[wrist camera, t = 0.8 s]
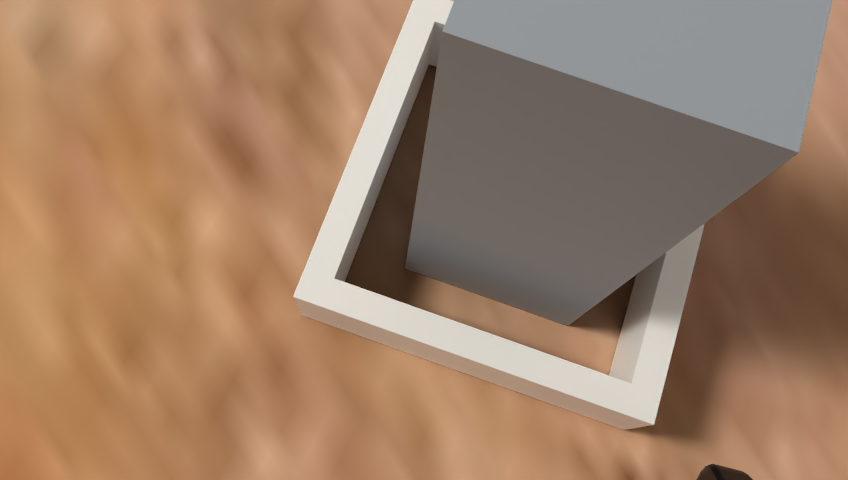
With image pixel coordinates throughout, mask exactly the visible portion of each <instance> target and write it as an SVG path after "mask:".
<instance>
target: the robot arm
mask: <svg viewBox="0 0 848 480" xmlns="http://www.w3.org/2000/svg"><path fill="white" fill-rule="evenodd" d="M697 480H753V479H752V478H751V477H750V476H749V475H747V474H746V473H744V472H742V471H739V470H735V469H731V468H727V467H723V466H719V465H715V464H711V465H708V466H705V468H704V469H703V470H702V471H701V472H700V474H699V476H698V478H697Z"/></svg>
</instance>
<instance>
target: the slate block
mask: <svg viewBox="0 0 848 480" xmlns="http://www.w3.org/2000/svg"><path fill="white" fill-rule="evenodd" d="M831 4H832V0H454V3H453V5H452V8H451V10H450V13H449V16H448V18H447V21H446V23H445V26H444V29H443V31H442V37H441V43H440V50H439V56H438V63H437V69H436V75H435V82H434V88H433V94H432V101H431V107H430V113H429V120H428V126H427V132H426V139H425V145H424V151H423V158H422V164H421V170H420V177H419V183H418V189H417V196H416V202H415V209H414V215H413V221H412V228H411V234H410V240H409V247H408V253H407V259H406V266H405V269H408V270H410V271H413V272H416V273H419V274H422V275H425V276H427V277H430V278H433V279H436V280H439V281H442V282H445V283H447V284H450V285H453V286H456V287H459V288H462V289H464V290H467V291H470V292H473V293H476V294H479V295H481V296H484V297H487V298H490V299H493V300H496V301H498V302H501V303H504V304H507V305H510V306H513V307H516V308H518V309H521V310H524V311H527V312H530V313H533V314H535V315H538V316H541V317H544V318H547V319H550V320H552V321H555V322H558V323H561V324H564V325H567V326H569V325H570V324H571V323H573V322H574V321H575V320H577V319H578V318H579V317H581V316H582V315H583V314H585V313H586V312H587V311H589V310H590V309H591V308H593V307H594V306H595V305H597V304H598V303H599V302H601V301H602V300H603V299H605V298H606V297H607V296H609V295H610V294H611V293H612V292H614V291H615V290H616V289H618V288H619V287H620V286H622V285H623V284H624V283H626V282H627V281H628V280H630V279H631V278H632V277H634V276H635V275H636V274H638V273H639V272H640V271H642V270H643V269H644V268H646V267H647V266H648V265H650V264H651V263H652V262H654V261H655V260H656V259H658V258H659V257H660V256H662V255H663V254H664V253H666V252H667V251H668V250H670V249H671V248H672V247H674V246H675V245H676V244H678V243H679V242H680V241H682V240H683V239H684V238H686V237H687V236H688V235H690V234H691V233H692V232H694V231H695V230H696V229H698V228H699V227H700V226H702V225H703V224H704V223H706V222H707V221H708V220H710V219H711V218H712V217H714V216H715V215H716V214H718V213H719V212H720V211H722V210H723V209H724V208H726V207H727V206H728V205H730V204H731V203H732V202H734V201H735V200H736V199H738V198H739V197H740V196H742V195H743V194H744V193H746V192H747V191H748V190H750V189H751V188H752V187H754V186H755V185H756V184H758V183H759V182H760V181H762V180H763V179H764V178H766V177H767V176H768V175H770V174H771V173H772V172H773V171H775V170H776V169H777V168H779V167H780V166H781V165H783V164H784V163H785V162H787V161H788V160H789V159H791V158H792V157H793V156H795V155H796V154H797V153H799V149H800V144H801V140H802V135H803V131H804V126H805V122H806V117H807V113H808V108H809V104H810V99H811V95H812V90H813V86H814V81H815V77H816V72H817V68H818V63H819V59H820V54H821V50H822V45H823V40H824V36H825V31H826V27H827V22H828V18H829V13H830V9H831Z"/></svg>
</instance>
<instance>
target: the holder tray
mask: <svg viewBox="0 0 848 480" xmlns="http://www.w3.org/2000/svg"><path fill="white" fill-rule="evenodd" d="M453 3H454V2H453V1H450V0H413V2H412V5H411V7H410V10H409V12H408V15H407V17H406V20H405V22H404V25H403V27H402V30H401V32H400V34H399V37H398V39H397V42H396V44H395V47H394V49H393V52H392V54H391V57H390V59H389V62H388V64H387V67H386V69H385V71H384V74H383V76H382V79H381V81H380V84H379V86H378V89H377V91H376V94H375V96H374V99H373V101H372V104H371V106H370V108H369V111H368V113H367V116H366V118H365V121H364V123H363V126H362V128H361V131H360V133H359V136H358V138H357V141H356V143H355V145H354V148H353V150H352V153H351V155H350V158H349V160H348V163H347V165H346V168H345V170H344V173H343V175H342V178H341V180H340V182H339V185H338V187H337V190H336V192H335V195H334V197H333V200H332V202H331V205H330V207H329V210H328V212H327V215H326V217H325V220H324V222H323V224H322V227H321V229H320V232H319V234H318V237H317V239H316V242H315V244H314V247H313V249H312V252H311V254H310V257H309V259H308V261H307V264H306V266H305V269H304V271H303V274H302V276H301V279H300V281H299V284H298V286H297V289H296V291H295V294H294V296H293V297H294V299H295V302H296V304H297V306H298V308H299V310H300V313H301V315H302V316H305V317H308V318H311V319H313V320H316V321H319V322H322V323H325V324H327V325H330V326H333V327H336V328H339V329H342V330H344V331H347V332H350V333H353V334H356V335H358V336H361V337H364V338H367V339H370V340H372V341H375V342H378V343H381V344H384V345H386V346H389V347H392V348H395V349H398V350H401V351H403V352H406V353H409V354H412V355H415V356H417V357H420V358H423V359H426V360H429V361H431V362H434V363H437V364H440V365H443V366H445V367H448V368H451V369H454V370H457V371H459V372H462V373H465V374H468V375H471V376H474V377H476V378H479V379H482V380H485V381H488V382H490V383H493V384H496V385H499V386H502V387H504V388H507V389H510V390H513V391H516V392H518V393H521V394H524V395H527V396H530V397H533V398H535V399H538V400H541V401H544V402H547V403H549V404H552V405H555V406H558V407H561V408H563V409H566V410H569V411H572V412H575V413H577V414H580V415H583V416H586V417H589V418H591V419H594V420H597V421H600V422H603V423H606V424H608V425H611V426H614V427H617V428H620V429H622V430H627V429H633V428H638V427H644V426H650V425H654V423H655V419H656V415H657V411H658V407H659V403H660V399H661V395H662V391H663V387H664V383H665V379H666V375H667V371H668V367H669V364H670V360H671V356H672V352H673V348H674V344H675V340H676V336H677V332H678V328H679V324H680V320H681V316H682V312H683V308H684V304H685V300H686V296H687V292H688V288H689V284H690V280H691V276H692V272H693V269H694V265H695V261H696V257H697V253H698V249H699V245H700V241H701V237H702V233H703V229H704V225H705V223H704V224H703V225H702V226H700V227H699V228H698V229H696V230H695V231H694V232H692V233H691V234H690V235H688V236H687V237H686V238H684V239H683V240H682V241H680V242H679V243H678V244H676V245H675V246H674V247H672V248H671V249H670V250H668V251H667V252H666V253H664V254H663V255H662V256H660V257H659V258H658V259H656V260H655V261H654V262H652V263H651V264H650V265H648V266H647V267H646V268H644V269H643V270H642V271H640V272H639V273H638V274H637V275H636V278H635V282H634V285H633V289H632V293H631V296H630V300H629V304H628V307H627V311H626V315H625V318H624V322H623V326H622V329H621V333H620V337H619V340H618V344H617V347H616V351H615V355H614V358H613V362H612V366H611V369H610V373H609V375H606V374H603V373H600V372H598V371H595V370H592V369H589V368H586V367H583V366H581V365H578V364H575V363H572V362H569V361H567V360H564V359H561V358H558V357H555V356H552V355H550V354H547V353H544V352H541V351H538V350H535V349H533V348H530V347H527V346H524V345H521V344H518V343H516V342H513V341H510V340H507V339H504V338H501V337H499V336H496V335H493V334H490V333H487V332H485V331H482V330H479V329H476V328H473V327H470V326H468V325H465V324H462V323H459V322H456V321H453V320H451V319H448V318H445V317H442V316H439V315H436V314H434V313H431V312H428V311H425V310H422V309H420V308H417V307H414V306H411V305H408V304H405V303H403V302H400V301H397V300H394V299H391V298H388V297H386V296H383V295H380V294H377V293H374V292H371V291H369V290H366V289H363V288H360V287H357V286H354V285H352V284H349V283H346V282H345V280H346V277H347V275H348V272H349V270H350V267H351V265H352V262H353V259H354V257H355V254H356V252H357V249H358V246H359V244H360V241H361V239H362V236H363V234H364V231H365V228H366V226H367V223H368V221H369V218H370V216H371V213H372V210H373V208H374V205H375V203H376V200H377V197H378V195H379V192H380V190H381V187H382V185H383V182H384V179H385V177H386V174H387V172H388V169H389V166H390V164H391V161H392V159H393V156H394V154H395V151H396V148H397V146H398V143H399V141H400V138H401V135H402V133H403V130H404V128H405V125H406V123H407V120H408V117H409V115H410V112H411V110H412V107H413V105H414V102H415V99H416V97H417V94H418V92H419V89H420V86H421V84H422V81H423V79H424V76H425V74H426V71H427V68H428V66H429V65H432V66H435V67H437V63H438V56H439V50H440V43H441V37H442V31H443V29H444V26H445V23H446V21H447V18H448V16H449V13H450V10H451V8H452V5H453Z"/></svg>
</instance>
